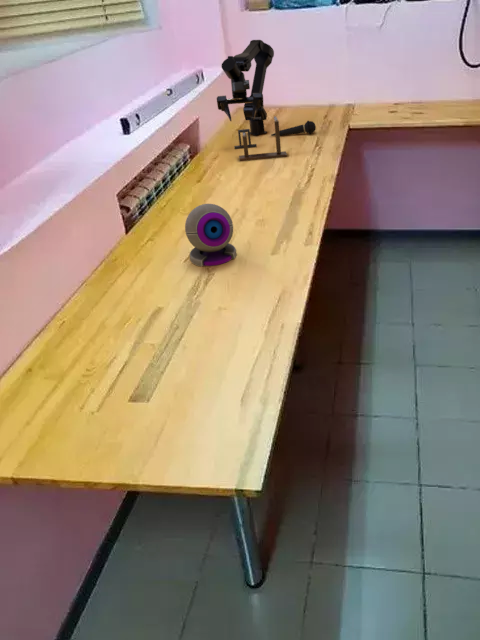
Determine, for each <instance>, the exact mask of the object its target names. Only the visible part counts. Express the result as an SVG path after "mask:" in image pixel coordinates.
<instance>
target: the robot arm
mask: <svg viewBox="0 0 480 640" xmlns="http://www.w3.org/2000/svg"><path fill="white" fill-rule="evenodd" d="M274 56H275V51H274V49H273V47H272V46H271V45H270V44H269V43H266V42H264V41H263V40H261V39H251V40H250V42H249V44H248V45H247V46H246V48H245V49H244V50H243V51H242V52H241V53H238V54H235V55H234V56H233V55H228V56H227V58H225V59H224V60H223V62H222V63H221V69H222V71H223V73H224V74H225V75H226V77H227V78H228V79H229V80H230V84H231V95H232V98H227V95H217V97H216V105H217V109H218V110H219V111H221V112H224V113H225V115H226V117H228V119H229V121H230V122H232V115H231V112H230V111H231V110H230V107H229V105H236V104H238V105H240V104H243V109H242V111H243V115H244V119H245V121H249V129H250V136H255V137H258V136H261V135H265V134H267V133H268V131H265V123H264V121H266V120H267V119H268V113H267V111H266V109H265V108H264V107H265V105H264V94H263V91H264V87H265V79H266V75H267V69H268V68H269V67H270V65H271V64H272V62H273V58H274ZM253 60H254V63H255V69H254V74H253V80H252V85H251V86H250V79H246V77H245V73H244V72H250V70H251V68H252V65H253V64H252V61H253ZM250 89H251V91H250V95H249V96H247V95H248V92H247V90H250Z"/></svg>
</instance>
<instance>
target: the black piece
mask: <svg viewBox="0 0 480 640" xmlns="http://www.w3.org/2000/svg"><path fill="white" fill-rule="evenodd" d="M242 132H245V133H247V141H248V144H247V145H248V149H253V148H255V149H256V148H257V147H258V145H257V143H252V140H251V134H250V128H245V129H238V130H237V135H238V143H239V145H234V146H233V148H234V150H244V146H243V143H242V136H241V135H242V134H243V133H242ZM241 133H242V134H241Z"/></svg>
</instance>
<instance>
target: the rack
mask: <svg viewBox="0 0 480 640" xmlns="http://www.w3.org/2000/svg"><path fill="white" fill-rule="evenodd" d="M273 120H274V121H273V123H274V133H275V147H276V148H275V149H276V150H275V151H274V152H264V153H263V152H262V153H251V154H249V148H248V145H249V144H248V135H247V134H246V133H247V132H242V145H243V146H244V149H243V153H244V154H242V155H238V160H239V162H246V161H257V160H266V159H267V160H268V159H279V158H288V154H287V151H286V150H285V151H282V146H281V136H280V132H279V131H280V121H279V120H278V117H277V115H276V116H273Z"/></svg>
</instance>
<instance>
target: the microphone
mask: <svg viewBox="0 0 480 640" xmlns="http://www.w3.org/2000/svg"><path fill="white" fill-rule="evenodd" d="M316 127H317V126H316V123H315V122H314V121H312V120H307V121H306V122H305V123H304V124H300V125H296V126H292V127H287V128H284V129H281V130H280V129H279V132H280V137H283V136H290V135H299V134H305V133H306V134H309V135H312V134H313V133H315V132H316V129H317V128H316ZM270 136H272V137H274V136H275V132H274V133H271V134H270ZM275 137H276V136H275Z"/></svg>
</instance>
